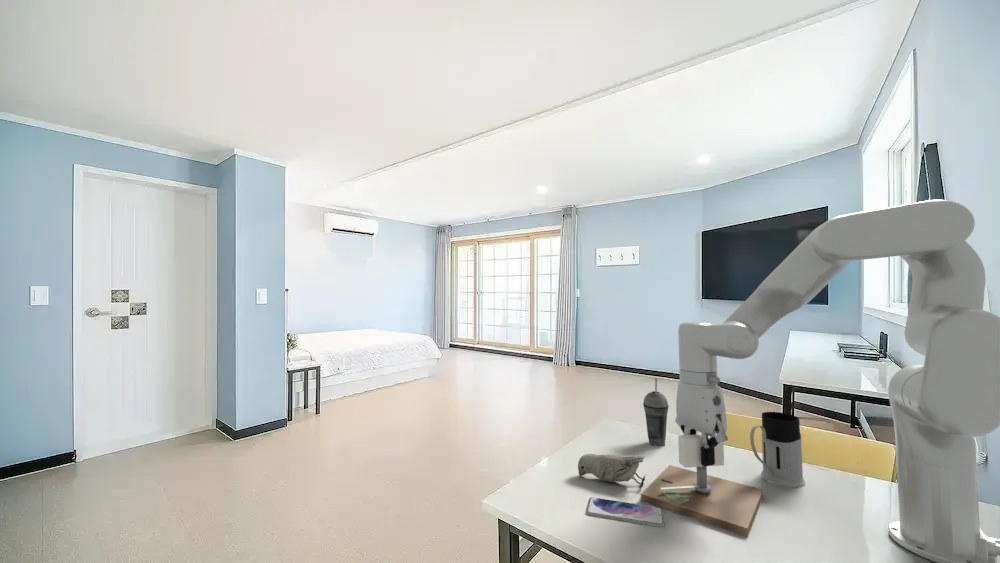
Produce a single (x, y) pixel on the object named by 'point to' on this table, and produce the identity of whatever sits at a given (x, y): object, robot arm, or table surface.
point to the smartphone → (625, 512)
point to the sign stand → (695, 462)
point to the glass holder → (780, 449)
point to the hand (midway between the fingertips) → (700, 460)
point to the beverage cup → (656, 417)
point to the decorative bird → (610, 467)
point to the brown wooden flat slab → (706, 499)
